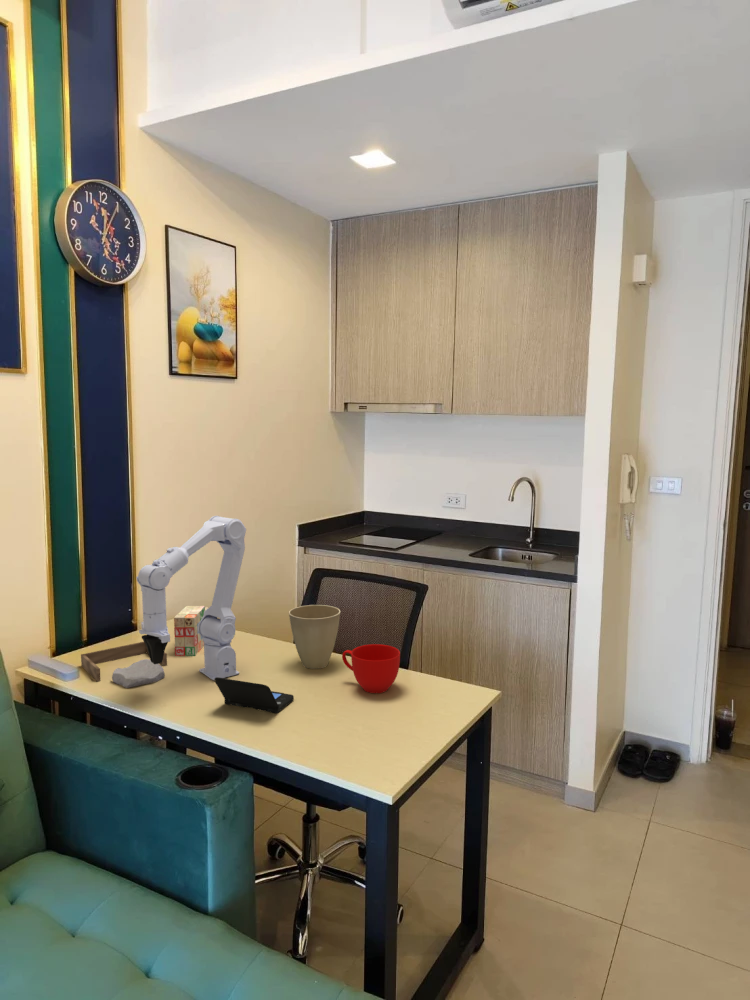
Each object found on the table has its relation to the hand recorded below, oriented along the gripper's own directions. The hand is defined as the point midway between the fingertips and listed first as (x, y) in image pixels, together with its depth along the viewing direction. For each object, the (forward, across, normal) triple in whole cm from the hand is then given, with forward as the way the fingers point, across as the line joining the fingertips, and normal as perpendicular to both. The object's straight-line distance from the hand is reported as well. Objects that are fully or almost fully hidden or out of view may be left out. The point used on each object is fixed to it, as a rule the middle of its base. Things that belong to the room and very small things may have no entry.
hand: (156, 662), depth 178 cm
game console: (+9, +22, +16) cm, 29 cm away
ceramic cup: (+9, +31, +46) cm, 56 cm away
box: (+8, -25, 0) cm, 27 cm away
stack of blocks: (+9, -30, +24) cm, 40 cm away
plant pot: (+9, +8, +44) cm, 46 cm away
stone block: (+9, -12, 0) cm, 15 cm away
